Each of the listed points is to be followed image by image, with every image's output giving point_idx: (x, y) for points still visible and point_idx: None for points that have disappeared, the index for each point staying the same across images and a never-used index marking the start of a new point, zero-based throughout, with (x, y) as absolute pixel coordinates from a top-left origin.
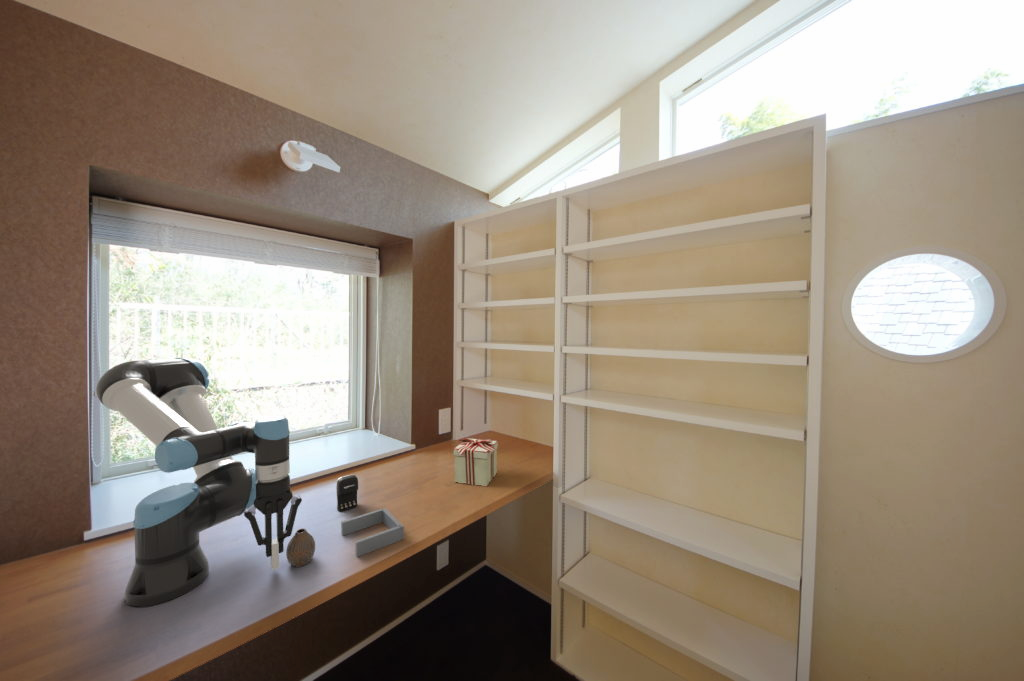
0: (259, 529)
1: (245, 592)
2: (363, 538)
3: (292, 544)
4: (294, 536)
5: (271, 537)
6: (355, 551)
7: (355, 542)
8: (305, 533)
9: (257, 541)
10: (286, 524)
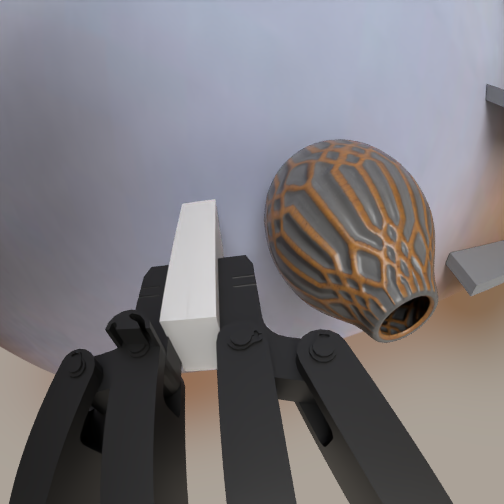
0: (65, 461)
1: (117, 282)
2: (490, 281)
3: (313, 306)
4: (350, 312)
5: (182, 423)
6: (456, 261)
7: (473, 283)
8: (410, 320)
9: (96, 419)
10: (334, 424)
